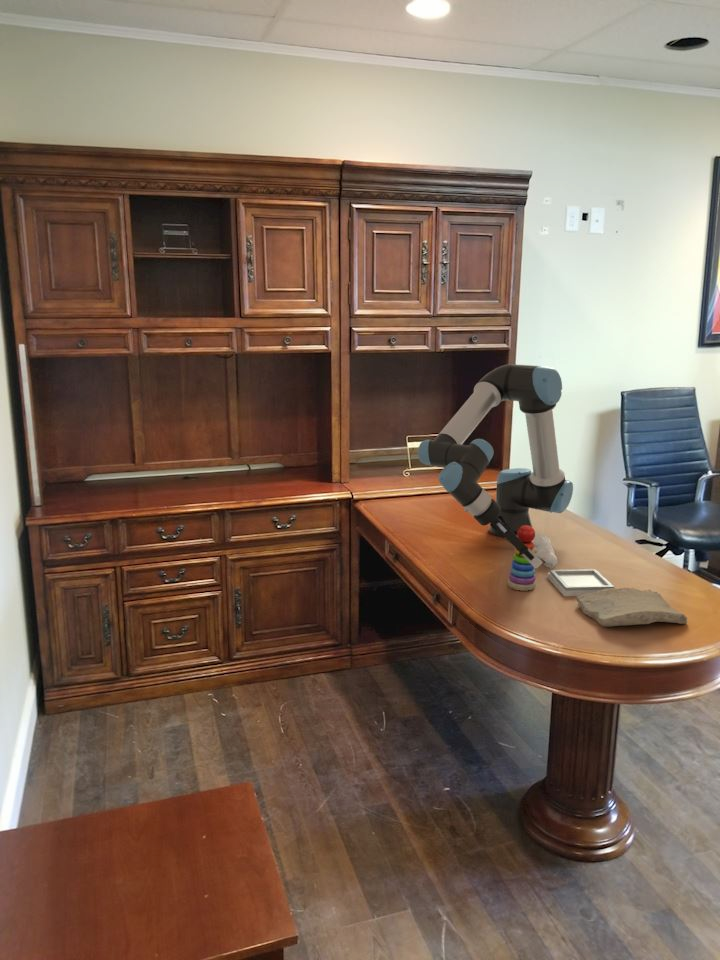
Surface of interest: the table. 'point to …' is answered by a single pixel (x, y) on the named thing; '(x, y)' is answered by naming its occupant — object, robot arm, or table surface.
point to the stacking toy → (523, 563)
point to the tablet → (628, 607)
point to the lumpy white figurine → (544, 550)
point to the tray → (578, 581)
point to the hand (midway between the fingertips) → (533, 559)
